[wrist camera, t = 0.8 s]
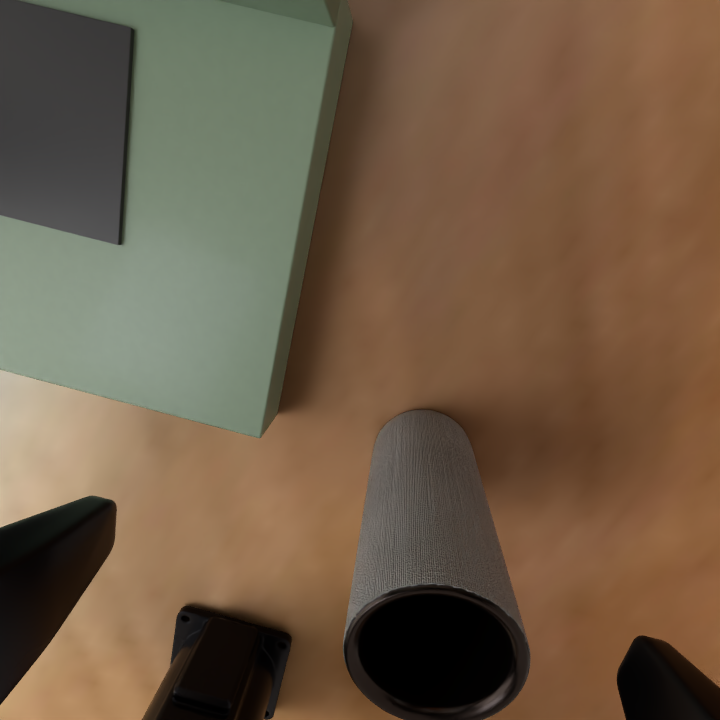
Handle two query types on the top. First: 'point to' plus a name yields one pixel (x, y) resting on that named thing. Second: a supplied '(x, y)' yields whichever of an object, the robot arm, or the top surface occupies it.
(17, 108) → the green lipped platform
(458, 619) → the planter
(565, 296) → the top surface
